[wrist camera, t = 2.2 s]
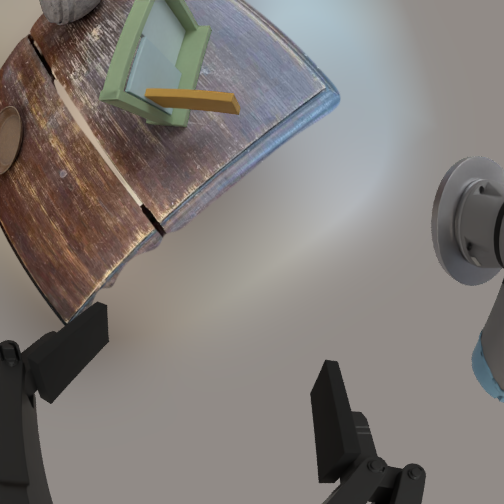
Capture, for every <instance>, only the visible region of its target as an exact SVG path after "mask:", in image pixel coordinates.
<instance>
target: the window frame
mask: <svg viewBox="0 0 504 504" xmlns="http://www.w3.org/2000/svg"><path fill="white" fill-rule="evenodd" d="M211 31H212V29H211V27H210V26H198V24H197V22H196V20H195V19H194V17H193V15H192V13H191V11H190V10H189V8H188V6H187V4H186V3H185V1H184V0H135V2H134V4H133V6H132V9H131V11H130V13H129V15H128V18H127V20H126V23H125V25H124V27H123V30H122V33H121V35H120V38H119V40H118V43H117V46H116V49H115V52H114V55H113V58H112V61H111V64H110V67H109V70H108V73H107V77H106V80H105V84H104V87H103V91H101V92H100V96H99V100H100V101H103V102H105V103H108V104H111V105H113V106H116V107H118V108H121V109H123V110H126V111H128V112H131V113H133V114H136V115H138V116H141V117H143V118H145V119H147V121H146V123H148V124H151V125H166V126H178V127H187V123H188V119H189V114H190V110H191V109H179V108H173V111H172V115H168V114H166V113H164V112H162V111H161V110H159V109H157V108H155V107H153V106H151V105H149V104H147V103H145V102H143V101H141V100H139V99H137V98H135V97H133V96H132V95H130V94H128V93H126V92H124V87H125V83H126V80H127V76H128V73H129V69H130V66H131V63H132V60H133V57H134V54H135V51H136V48H137V45H138V42H139V39H140V37H141V38H143V37H147V38H148V39H149V40H150V41H151V42H152V43H153V44H154V45H155V46H156V47H157V48H158V49H159V50H160V51H161V52H162V53H163V54H164V55H165V57H166V58H167V59H168V60H169V61H170V62H171V63H172V64H173V65H174V66H175V67H176V68H177V69H178V70H179V71H180V72H181V73H182V75H181V78H180V82H179V86H178V89H189V90H195V89H196V85H197V81H198V77H199V73H200V69H201V65H202V62H203V58H204V55H205V51H206V48H207V44H208V41H209V38H210V34H211Z"/></svg>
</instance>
